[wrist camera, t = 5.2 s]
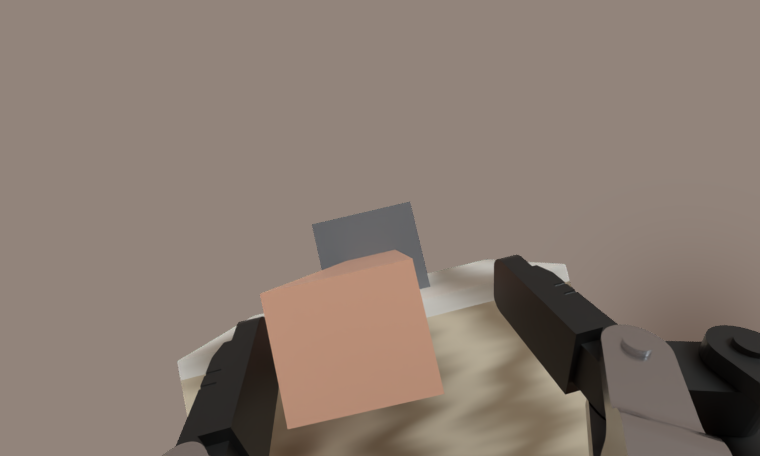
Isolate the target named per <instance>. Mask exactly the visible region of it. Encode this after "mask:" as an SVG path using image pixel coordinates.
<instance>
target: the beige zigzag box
mask: <svg viewBox="0 0 760 456" xmlns="http://www.w3.org/2000/svg"><path fill="white" fill-rule="evenodd" d="M494 262H495V260H488V259H486V260H482V261H478V262H473V263H469V264H466V265H461V266H457V267H453V268H449V269H445V270H441V271H436V272H433V273H428V274H427V275H428V279H429V283H430V287H427V288H423V289H420V293H421V297H422V301H423V305H424V310H425V314H426V318H427V322H428V326H429V331H430V335H431V339H432V343H433V347H434V352H435V356H436V360H437V364H438V368H439V373H440V377H441V381H442V385H443V389H444V394H442V395H437V396H433V397H429V398H424V399H420V400H415V401H411V402H407V403H402V404H398V405H393V406H389V407H385V408H380V409H376V410H371V411H367V412H362V413H358V414H354V415H349V416H345V417H340V418H336V419H332V420H327V421H323V422H318V423H314V424H310V425H305V426H301V427H296V428H292V429H288V428H287V423H286V418H285V414H284V409H283V404H282V399H281V394H280V389H279V390H278V397H277V404H276V411H275V418H274V425H273V432H272V439H271V446H270V453H269V456H589V447H588V434H587V421H586V408H585V403H586V397H585V396H584V395H583V394H582V392H581V391H576V392H573V393H569V394H566V395H565V394H564V392H563V391H562V390H561V389H560V387H559V386H558V385H557V383H556V382H555V381H554V380H553V378H552V377H551V376H550V375H549V373H548V372H547V371H546V370H545V368H544V367H543V366H542V364H541V363H540V362H539V361H538V359H537V358H536V357H535V356H534V354H533V353H532V352H531V351H530V349H529V348H528V347H527V345H526V344H525V343H524V342H523V340H522V339H521V338H520V337H519V335H518V334H517V333H516V332H515V330H514V329H513V328H512V326H511V325H510V324H509V323H508V321H507V320H506V319H505V318H504V316H503V315H502V314H501V313H500V311H499V309H498V308H497V305H496V303H495V300H494ZM528 263H529V264H530V265H531V266H535V265H538V266H540V267H542V268H545V269H547V270H549V271H551V272H553V273H554V274H556V275H557V276H558V277H559V278H561V279H562V280H563V281H564V282H565V284H568V285H569V286H571V284H570V280H569V276H568V273H567V269H566V265H565V264H554V263H537V262H528ZM262 316H263V317H265V316H264V314H260V315H256V316H252V317H250V318H249V319H253V318H258V317H262ZM249 319H247V320H249ZM235 329H236V326H235V327H234V328H232V329H230V330H229V331H227V332H225V333H224V334H222V335H220V336H219V337H217V338H215V339H214V340H212V341H210V342H209V343H207V344H206V345H204V346H202V347H200V348H199V349H197V350H195V351H194V352H192V353H190V354H189V355H187V356H185V357H184V358H182V359H180V360H179V361H177V363H178V368H179V373H180V379H181V384H182V389H183V395H184V401H185V406H186V412H187V417H188V415H189V412H190V410H191V408H192V405H193V403H194V400H195V398H196V395H197V393H198V390H200V388H201V387H200V385H201V383H202V380H203V378H204V376H206V371H207V368H208V366H209V363H210V361H211V358H212V357H213V355H214V354H215V353H216V352H217V350H218V349H219V348H220V347H221V345H222V344H223V343H224V342H227V341H231V340H232V338H233V335H234V332H235Z"/></svg>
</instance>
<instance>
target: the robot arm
mask: <svg viewBox="0 0 760 456" xmlns="http://www.w3.org/2000/svg"><path fill="white" fill-rule="evenodd" d="M494 300H495V303H496V305H497V308H498V309H499V311H500V313H501V314H502V315H503V316H504V318H505V319H506V320H507V321H508V323H509V324H510V325H511V326H512V328H513V329H514V330H515V332H516V333H517V334H518V335H519V337H520V338H521V339H522V340H523V342H524V343H525V344H526V345H527V347H528V348H529V349H530V351H531V352H532V353H533V354H534V356H535V357H536V358H537V359H538V361H539V362H540V363H541V364H542V366H543V367H544V368H545V370H546V371H547V372H548V373H549V375H550V376H551V377H552V378H553V380H554V381H555V382H556V383H557V385H558V386H559V387H560V389H561V390H562V391H563V392H564V394H565V395H566V394H569V393H573V392H576V391H581V392H582V394H583V395H584V396H585V397H586V403H585V408H586V421H587V434H588V447H589V456H760V333H758V332H756V331H752V330H749V329H745V328H741V327H736V326H727V325H724V326H715V327H712V328H710V329H708V331H707V332H706V334H705V336H704V339H703V341H702V342H684V341H664V340H662V339H661V338H660V337H658V336H657V335H655V334H653V333H651V332H649V331H647V330H644V329H642V328H639V327H635V326H630V325H618V324H617V323H615V322H614V321H613V320H612V319H610V318H609V317H608V316H607V315H605V314H604V313H602V312H601V311H600V310H599V309H598V308H596V307H595V306H594V305H593V304H592V303H590V302H589V301H588V300H587V299H585V298H584V297H583V296H582V295H580V294H579V293H578V292H575V290H574V289H573V288H572V287H571V286H569V285H568V284H565V282H564V281H563V280H562V279H561V278H559V277H558V276H557V275H556V274H554V273H553V272H551V271H549V270H547V269H545V268H542V267H540V266H538V265H535V266H531V265H530V264H529V263H528V262H527V261H526V260H524V259H523V258H522V257H521V256H519V255H514V256H510V257H505V258H501V259H497V260H495V262H494ZM200 387H201V388H200V390H198V393H197V395H196V398H195V400H194V403H193V405H192V408H191V410H190V412H189V415H188V417H187V420H186V422H185V425H184V427H183V430H182V432H181V435H180V437H179V440H178V442H177V444H176V446H175V447H174V448H172V449H171V450H169V451H168V452H166V453H165V454H164V455H162V456H269V453H270V446H271V439H272V432H273V425H274V418H275V411H276V404H277V397H278V390H279V384H278V379H277V374H276V370H275V365H274V360H273V355H272V350H271V345H270V340H269V335H268V330H267V325H266V321H265V317H263V316H262V317H258V318H253V319H249V320H245V321H241V322H239V323H238V324H237V326H236V329H235V332H234V335H233V338H232V340H231V341H227V342H224V343H223V344H222V345H221V347H220V348H219V349H218V350H217V352H216V353H215V354H214V355H213V357H212V358H211V361H210V363H209V366H208V368H207V371H206V376H204V378H203V380H202V383H201V385H200Z"/></svg>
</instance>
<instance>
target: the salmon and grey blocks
mask: <svg viewBox="0 0 760 456" xmlns="http://www.w3.org/2000/svg"><path fill="white" fill-rule="evenodd" d="M312 227H313V231H314V236H315V241H316V245H317V250H318V254H319V258H320V263H321V268H322V270H321V271H319V272H316V273H313V274H311V275H308V276H305V277H303V278H300V279H298V280H295V281H292V282H290V283H287V284H284V285H282V286H279V287H276V288H274V289H271V290H268V291H266V292H264V293H261V294H260V296H261V301H262V305H263V311H264V316H265V321H266V325H267V330H268V335H269V340H270V345H271V350H272V355H273V360H274V365H275V370H276V374H277V379H278V384H279V389H280V394H281V399H282V404H283V409H284V414H285V418H286V423H287V428H288V429H292V428H296V427H301V426H305V425H310V424H314V423H318V422H323V421H327V420H332V419H336V418H340V417H345V416H349V415H354V414H358V413H362V412H367V411H371V410H376V409H380V408H385V407H389V406H393V405H398V404H402V403H407V402H411V401H415V400H420V399H424V398H429V397H433V396H437V395H442V394H444V389H443V385H442V381H441V377H440V373H439V368H438V364H437V360H436V356H435V352H434V347H433V343H432V339H431V335H430V331H429V326H428V322H427V318H426V314H425V310H424V305H423V301H422V297H421V293H420V289H423V288H427V287H430V283H429V279H428V275H427V271H426V267H425V262H424V258H423V254H422V250H421V246H420V241H419V237H418V233H417V229H416V225H415V221H414V216H413V212H412V208H411V204H410V202H407V203H402V204H398V205H394V206H390V207H385V208H381V209H377V210H372V211H368V212H364V213H359V214H355V215H351V216H347V217H343V218H338V219H334V220H330V221H325V222H321V223H317V224H312Z"/></svg>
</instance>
